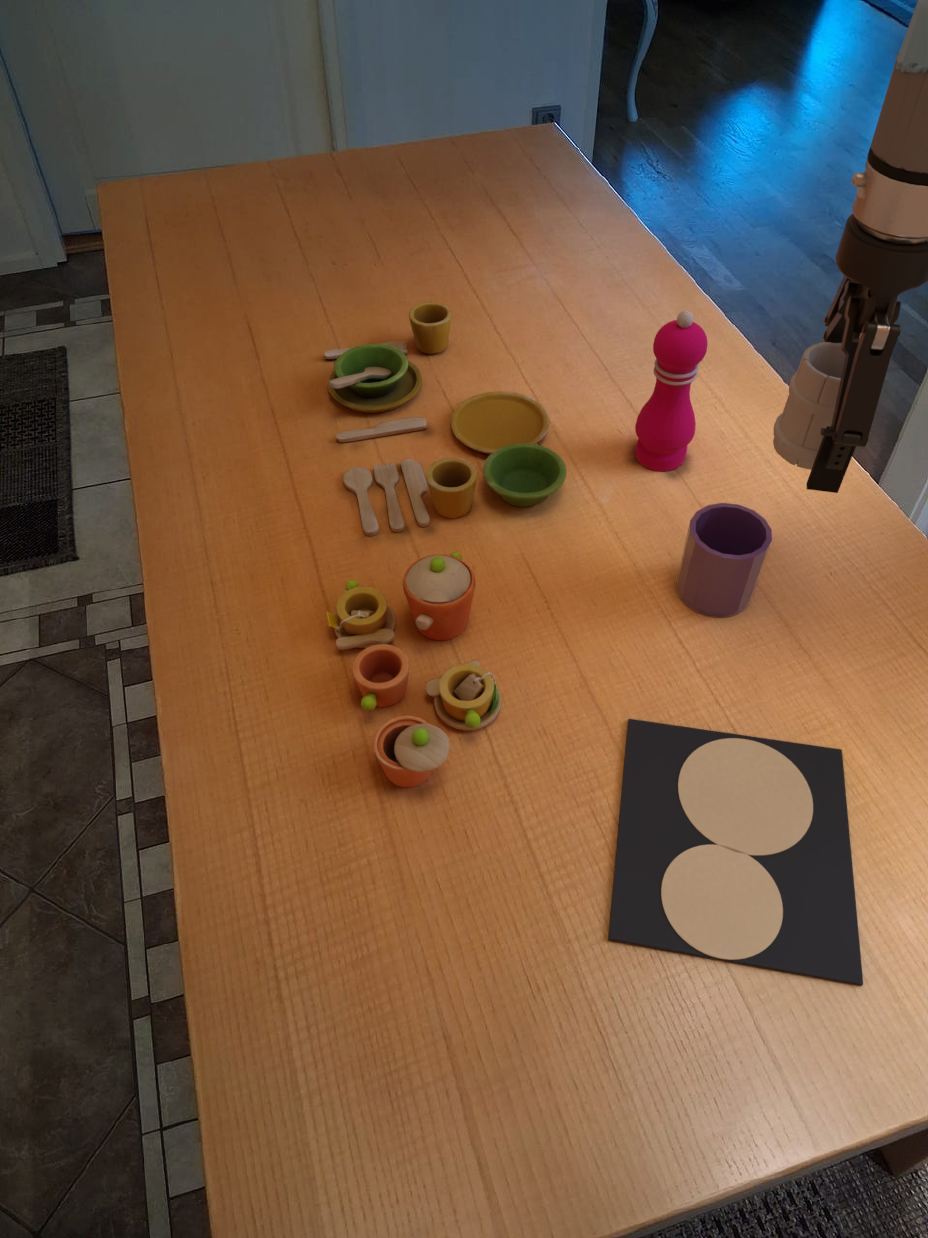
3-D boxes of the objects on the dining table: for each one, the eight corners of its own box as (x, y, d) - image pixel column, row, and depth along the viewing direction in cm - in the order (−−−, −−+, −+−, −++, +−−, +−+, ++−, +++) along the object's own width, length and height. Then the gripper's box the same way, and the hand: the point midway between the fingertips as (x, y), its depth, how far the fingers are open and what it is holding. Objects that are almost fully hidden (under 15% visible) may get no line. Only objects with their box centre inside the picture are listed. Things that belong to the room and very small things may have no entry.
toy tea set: (323, 606, 98) (310, 544, 91) (460, 576, 101) (457, 512, 93) (373, 812, 82) (362, 756, 74) (535, 770, 84) (539, 711, 77)
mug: (839, 423, 90) (879, 315, 81) (869, 502, 83) (917, 393, 74) (763, 422, 91) (793, 315, 82) (786, 501, 83) (823, 393, 74)
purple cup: (751, 567, 100) (770, 507, 94) (752, 622, 95) (773, 563, 88) (677, 558, 102) (691, 499, 95) (674, 612, 96) (688, 553, 90)
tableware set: (318, 351, 130) (312, 312, 125) (504, 326, 134) (505, 286, 129) (356, 547, 104) (349, 506, 99) (586, 509, 107) (590, 468, 102)
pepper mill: (648, 430, 117) (671, 288, 101) (698, 450, 114) (731, 307, 99) (620, 460, 113) (641, 316, 98) (672, 481, 110) (701, 337, 95)
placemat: (840, 751, 85) (842, 748, 84) (861, 986, 71) (863, 984, 70) (628, 720, 88) (628, 717, 87) (608, 940, 74) (608, 938, 73)
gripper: (841, 152, 77) (778, 368, 94) (857, 298, 62) (779, 526, 78) (933, 158, 76) (853, 376, 92) (973, 309, 61) (869, 538, 77)
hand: (819, 445), depth 85 cm, fingers closed on mug, 12 cm apart
